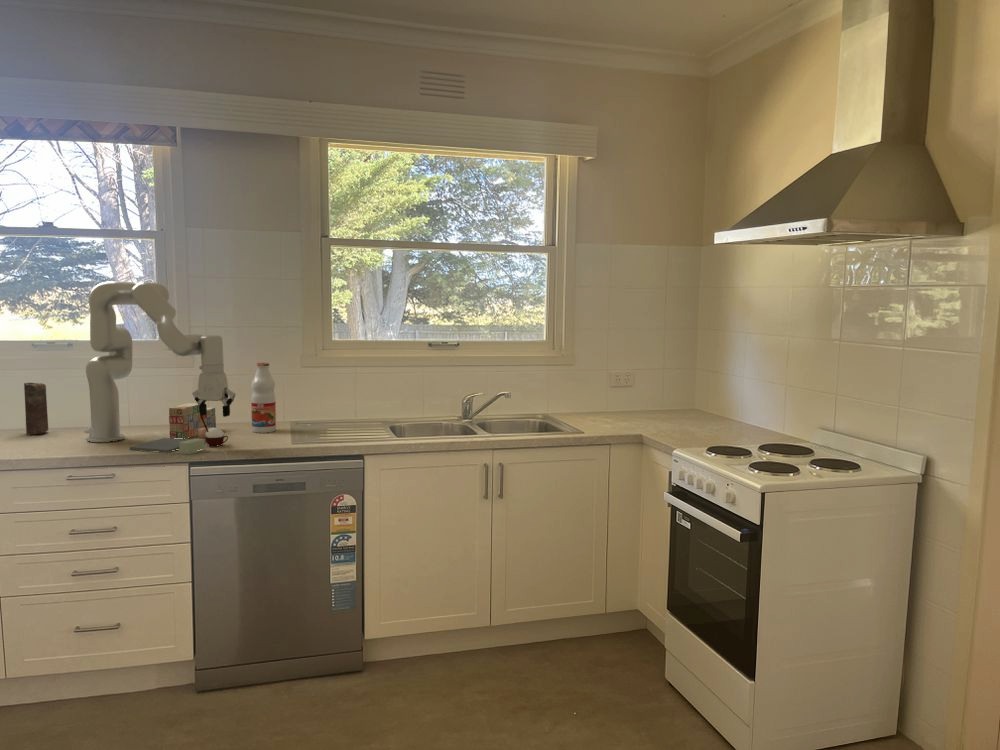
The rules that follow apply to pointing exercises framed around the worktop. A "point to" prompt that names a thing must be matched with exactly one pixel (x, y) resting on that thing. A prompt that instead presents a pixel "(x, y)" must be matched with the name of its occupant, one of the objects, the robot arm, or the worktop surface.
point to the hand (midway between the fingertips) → (214, 415)
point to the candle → (35, 408)
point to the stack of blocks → (189, 420)
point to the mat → (159, 445)
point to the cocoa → (214, 435)
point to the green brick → (191, 446)
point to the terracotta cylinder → (202, 432)
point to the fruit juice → (263, 400)
